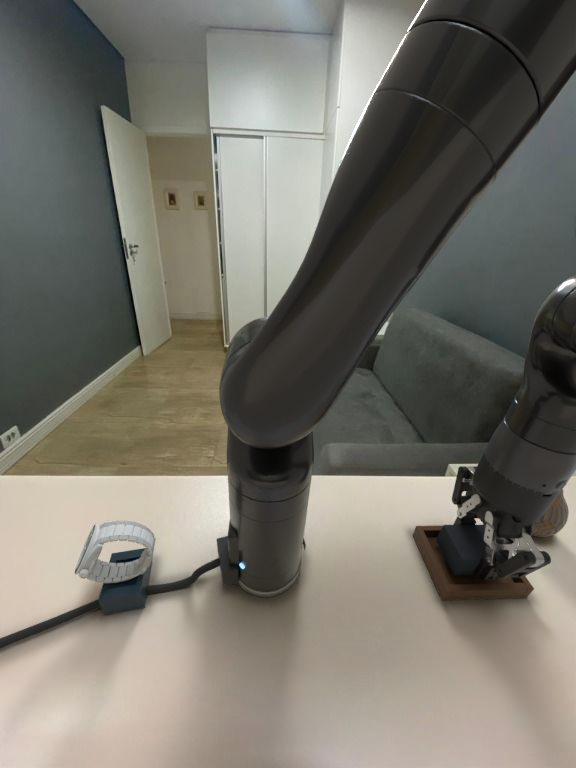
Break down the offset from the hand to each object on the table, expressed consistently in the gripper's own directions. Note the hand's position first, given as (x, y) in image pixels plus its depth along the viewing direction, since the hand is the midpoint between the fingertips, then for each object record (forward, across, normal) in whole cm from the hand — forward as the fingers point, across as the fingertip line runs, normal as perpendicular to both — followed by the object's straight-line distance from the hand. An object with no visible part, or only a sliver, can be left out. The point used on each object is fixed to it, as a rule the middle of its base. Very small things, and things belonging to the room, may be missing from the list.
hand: (469, 554), depth 42 cm
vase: (+2, -6, +14) cm, 16 cm away
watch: (+3, +2, -45) cm, 45 cm away
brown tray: (+2, 0, 0) cm, 2 cm away
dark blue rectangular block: (0, 0, 0) cm, 0 cm away
